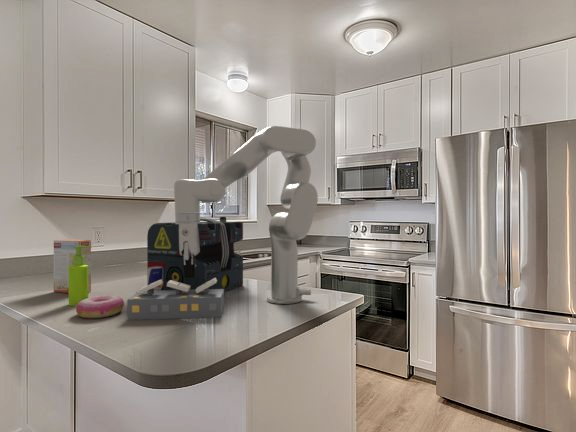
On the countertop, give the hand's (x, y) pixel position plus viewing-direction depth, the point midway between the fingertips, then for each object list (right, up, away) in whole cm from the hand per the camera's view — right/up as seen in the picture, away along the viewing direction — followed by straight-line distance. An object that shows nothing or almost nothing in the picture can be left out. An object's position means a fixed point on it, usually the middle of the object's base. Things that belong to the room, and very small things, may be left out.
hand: (190, 277), depth 112 cm
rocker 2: (-3, -3, -1) cm, 4 cm away
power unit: (-7, -11, +36) cm, 38 cm away
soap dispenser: (-41, -11, +12) cm, 44 cm away
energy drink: (-16, -11, +15) cm, 25 cm away
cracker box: (-55, -11, +30) cm, 64 cm away
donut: (-27, -12, -1) cm, 30 cm away
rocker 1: (-12, -3, -1) cm, 12 cm away
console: (-3, -11, -1) cm, 12 cm away
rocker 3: (+5, -3, 0) cm, 6 cm away
